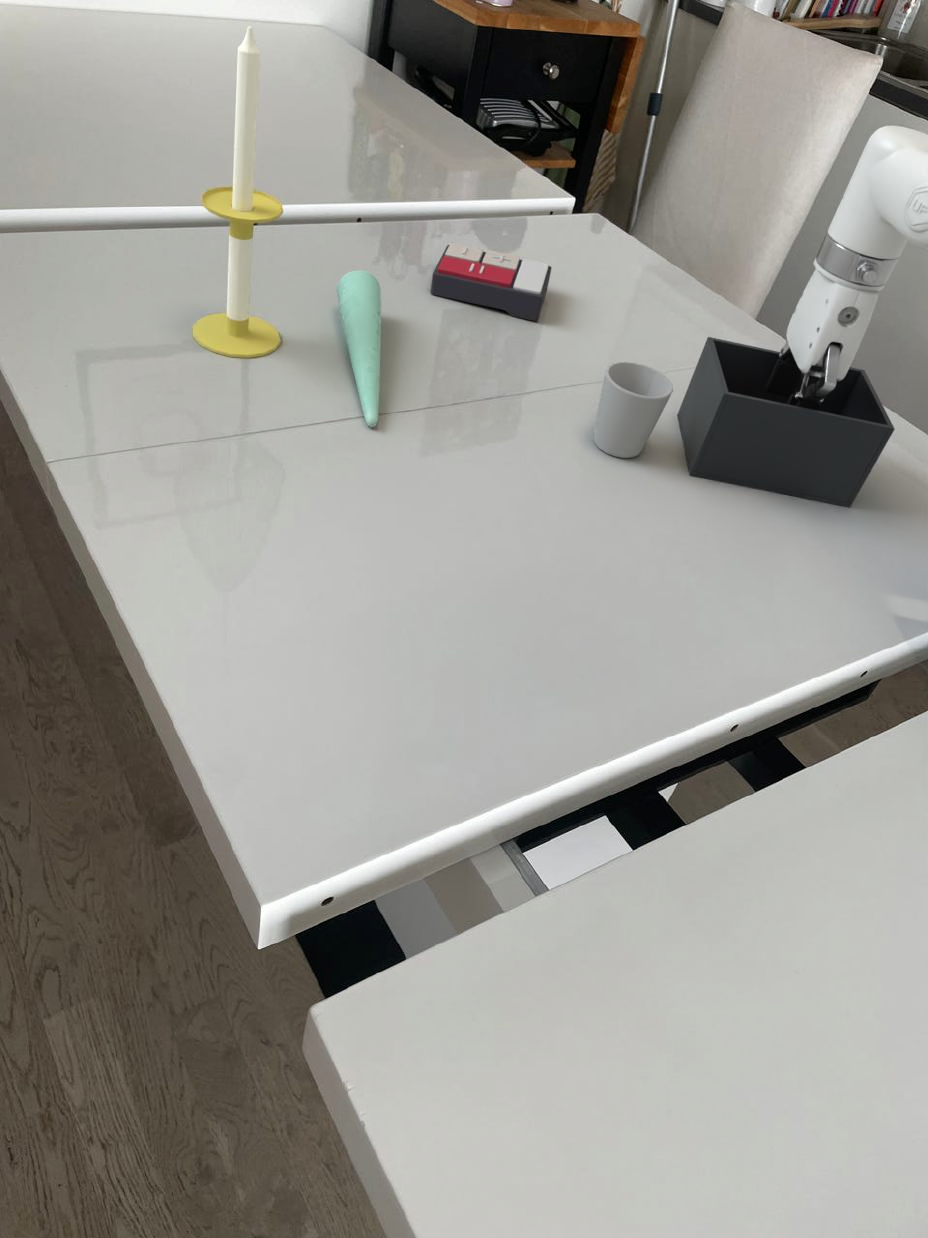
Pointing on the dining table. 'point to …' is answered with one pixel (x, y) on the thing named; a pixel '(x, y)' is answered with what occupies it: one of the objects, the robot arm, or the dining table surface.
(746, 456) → the bin
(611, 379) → the cup
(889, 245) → the robot arm
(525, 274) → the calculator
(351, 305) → the long green cone
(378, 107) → the dining table surface
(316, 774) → the dining table surface
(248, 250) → the candle
